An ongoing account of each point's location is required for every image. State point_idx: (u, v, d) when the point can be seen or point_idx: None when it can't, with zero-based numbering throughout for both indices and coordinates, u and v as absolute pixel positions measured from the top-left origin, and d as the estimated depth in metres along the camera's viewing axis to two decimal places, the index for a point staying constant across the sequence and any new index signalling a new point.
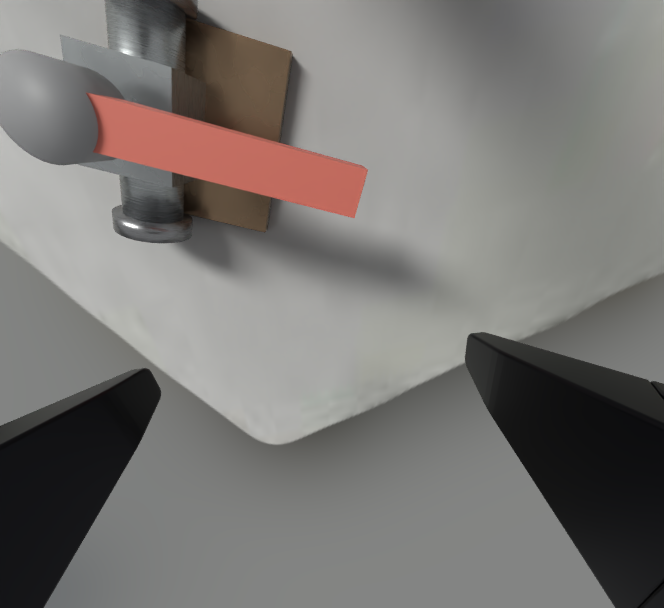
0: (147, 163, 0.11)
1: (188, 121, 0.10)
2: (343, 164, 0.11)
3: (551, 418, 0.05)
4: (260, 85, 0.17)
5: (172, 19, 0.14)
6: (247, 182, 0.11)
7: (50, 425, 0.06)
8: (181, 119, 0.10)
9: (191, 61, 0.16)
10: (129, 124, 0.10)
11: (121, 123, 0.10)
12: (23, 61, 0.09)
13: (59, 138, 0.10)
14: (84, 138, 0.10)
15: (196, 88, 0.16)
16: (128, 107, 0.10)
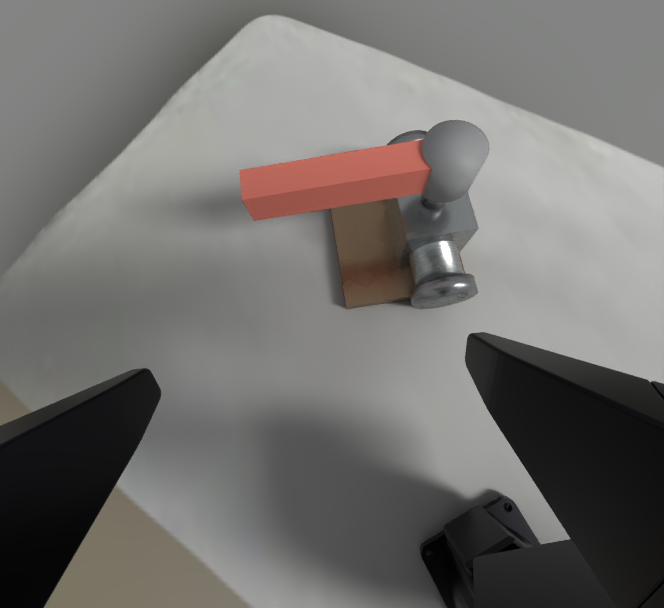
0: (388, 146, 0.15)
1: (367, 178, 0.15)
2: (259, 196, 0.15)
3: (551, 418, 0.05)
4: (360, 279, 0.22)
5: (419, 277, 0.20)
6: (320, 161, 0.15)
7: (50, 425, 0.06)
8: (371, 178, 0.15)
9: (410, 273, 0.22)
10: (403, 162, 0.15)
11: (408, 161, 0.15)
12: (467, 166, 0.15)
13: (444, 136, 0.15)
14: (428, 142, 0.15)
15: (399, 253, 0.21)
16: (405, 170, 0.15)
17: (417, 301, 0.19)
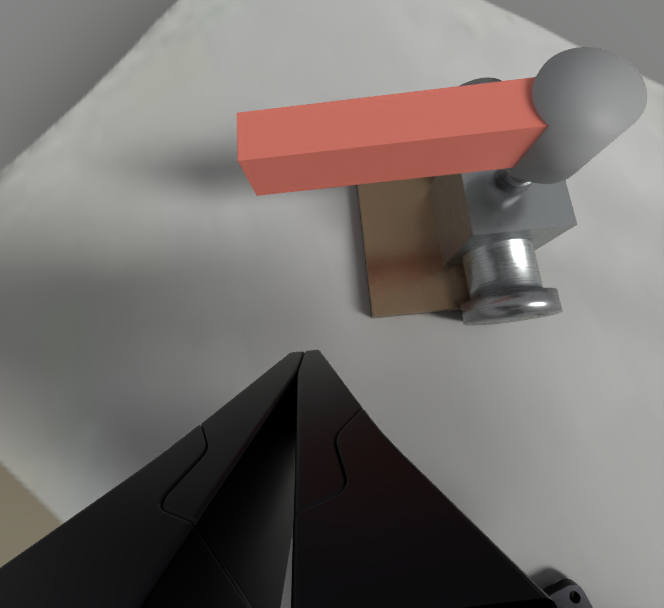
0: (477, 86, 0.10)
1: (441, 137, 0.09)
2: (266, 157, 0.10)
3: None
4: (393, 281, 0.17)
5: (480, 286, 0.14)
6: (366, 105, 0.10)
7: (277, 402, 0.06)
8: (448, 136, 0.09)
9: (459, 277, 0.17)
10: (501, 113, 0.09)
11: (509, 111, 0.09)
12: (611, 125, 0.09)
13: (571, 73, 0.09)
14: (545, 81, 0.09)
15: (449, 250, 0.16)
16: (504, 127, 0.09)
17: (475, 320, 0.14)
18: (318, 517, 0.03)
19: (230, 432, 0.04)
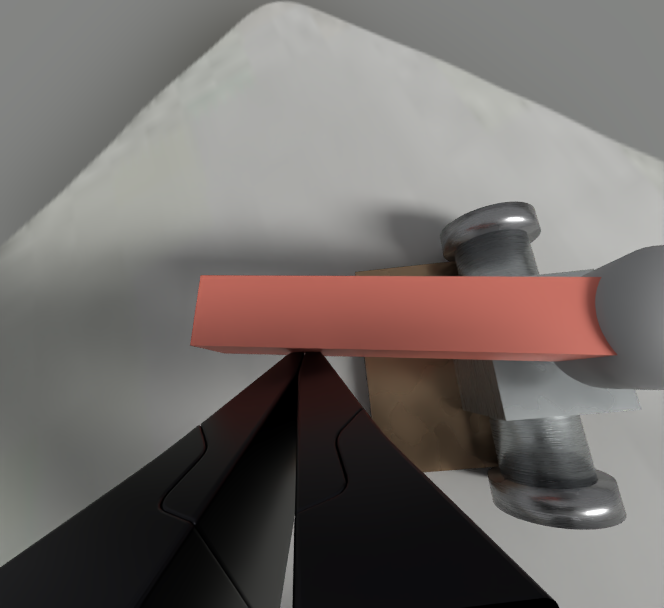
0: (518, 279, 0.07)
1: (463, 350, 0.07)
2: (227, 344, 0.07)
3: None
4: (402, 429, 0.14)
5: (514, 466, 0.11)
6: (366, 287, 0.07)
7: (277, 402, 0.06)
8: (473, 350, 0.07)
9: (483, 426, 0.14)
10: (549, 326, 0.07)
11: (561, 325, 0.07)
12: None
13: (654, 282, 0.07)
14: (616, 291, 0.07)
15: (471, 403, 0.13)
16: (553, 349, 0.07)
17: None
18: (319, 517, 0.03)
19: (230, 432, 0.04)
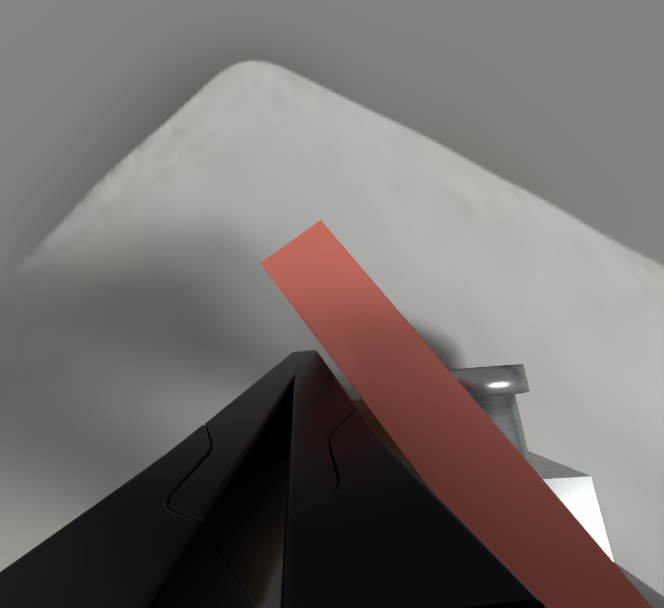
0: (572, 520, 0.05)
1: None
2: (283, 291, 0.07)
3: None
4: None
5: None
6: (429, 368, 0.06)
7: (281, 402, 0.06)
8: None
9: None
10: (550, 592, 0.05)
11: (564, 605, 0.05)
12: None
13: None
14: None
15: None
16: None
17: None
18: (310, 518, 0.03)
19: (234, 432, 0.04)
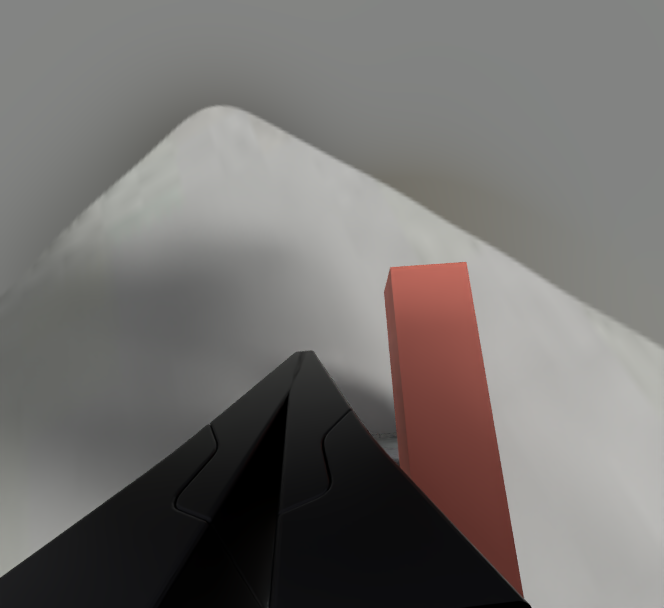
0: None
1: None
2: (395, 303, 0.07)
3: None
4: None
5: None
6: (483, 457, 0.06)
7: (285, 402, 0.06)
8: None
9: None
10: None
11: None
12: None
13: None
14: None
15: None
16: None
17: None
18: (301, 518, 0.03)
19: (239, 431, 0.04)
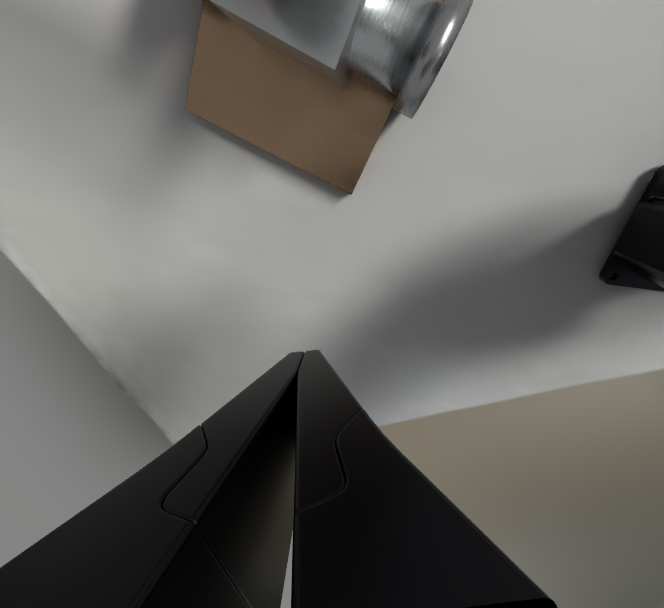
0: None
1: None
2: None
3: None
4: (332, 155, 0.16)
5: (388, 81, 0.13)
6: None
7: (277, 402, 0.06)
8: None
9: (366, 78, 0.14)
10: None
11: None
12: None
13: None
14: None
15: (334, 79, 0.14)
16: None
17: (415, 112, 0.13)
18: (318, 517, 0.03)
19: (230, 432, 0.04)
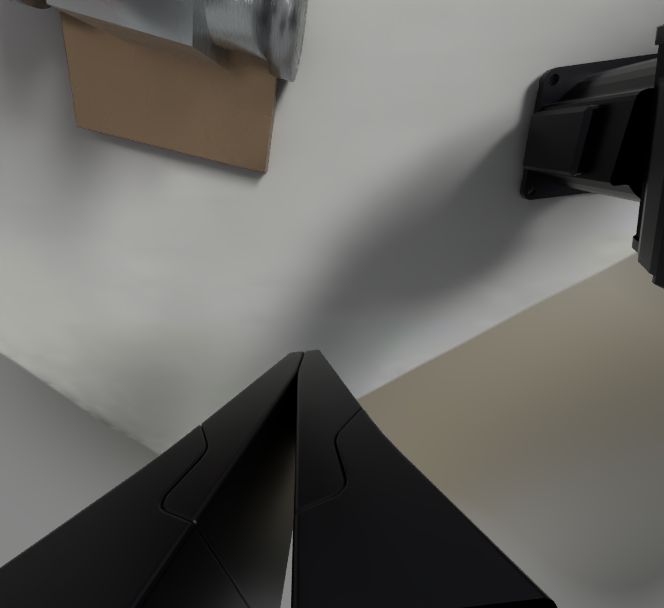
0: None
1: None
2: None
3: None
4: (234, 137, 0.16)
5: (256, 49, 0.13)
6: None
7: (277, 402, 0.06)
8: None
9: (242, 53, 0.15)
10: None
11: None
12: None
13: None
14: None
15: (207, 60, 0.14)
16: None
17: (291, 73, 0.13)
18: (318, 517, 0.03)
19: (230, 432, 0.04)
